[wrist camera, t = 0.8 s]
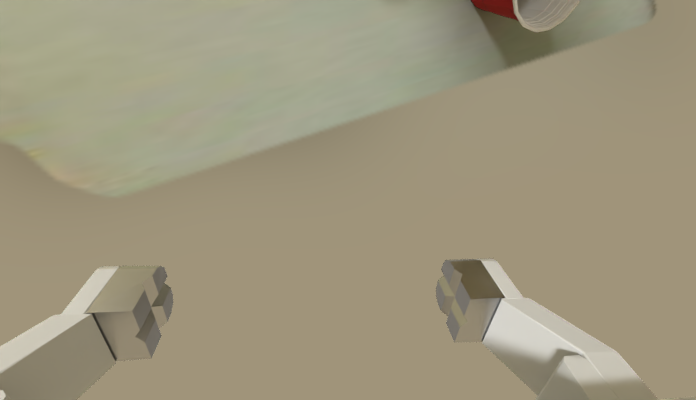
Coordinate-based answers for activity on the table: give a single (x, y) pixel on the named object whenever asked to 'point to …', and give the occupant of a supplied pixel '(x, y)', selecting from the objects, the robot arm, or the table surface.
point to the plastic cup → (531, 11)
